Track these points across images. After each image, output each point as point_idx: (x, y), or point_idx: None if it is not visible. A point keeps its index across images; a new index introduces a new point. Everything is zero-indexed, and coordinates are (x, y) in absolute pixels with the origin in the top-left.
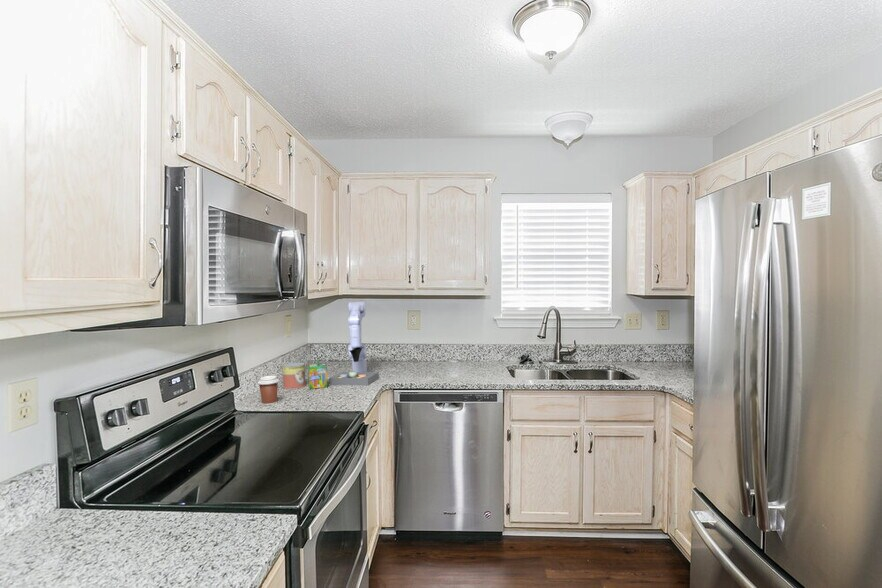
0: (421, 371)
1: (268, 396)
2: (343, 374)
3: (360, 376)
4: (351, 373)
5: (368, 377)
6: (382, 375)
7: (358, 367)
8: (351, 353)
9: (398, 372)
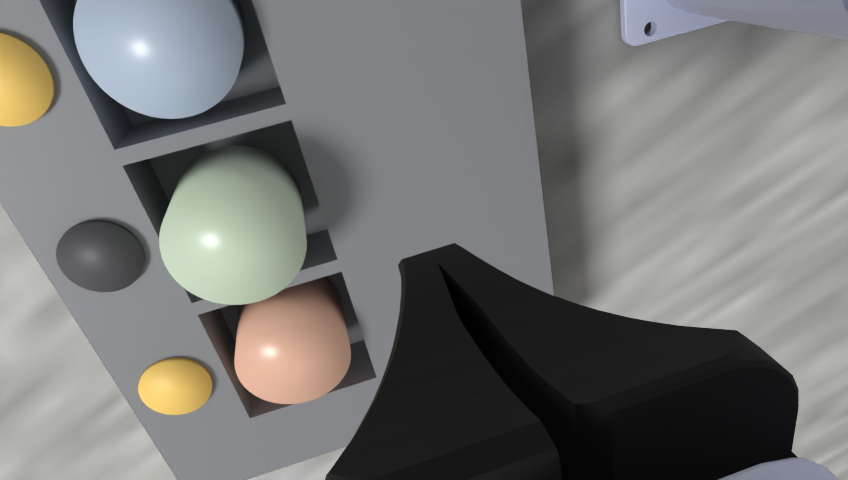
0: (839, 455)
1: None
2: (167, 35)
3: (237, 362)
4: (169, 263)
5: (248, 466)
6: (683, 261)
7: None
8: (375, 410)
9: (821, 318)
